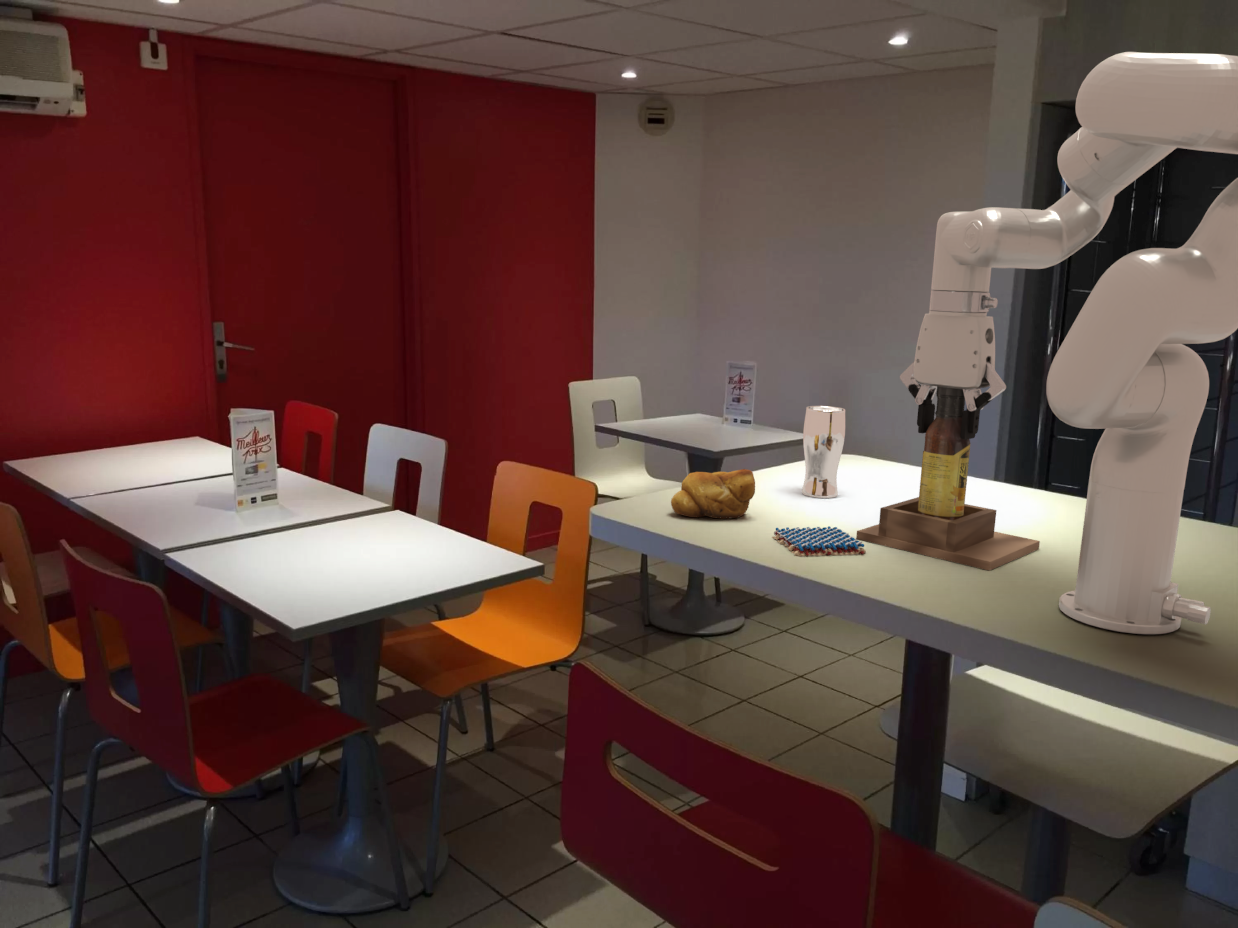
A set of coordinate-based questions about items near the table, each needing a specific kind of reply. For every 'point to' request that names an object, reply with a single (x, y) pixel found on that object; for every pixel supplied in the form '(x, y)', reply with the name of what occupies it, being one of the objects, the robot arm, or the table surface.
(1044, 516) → the table surface
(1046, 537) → the table surface
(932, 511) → the sauce bottle
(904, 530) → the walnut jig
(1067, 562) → the table surface
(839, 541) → the woven mat
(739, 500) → the bread roll
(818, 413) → the beer glass
